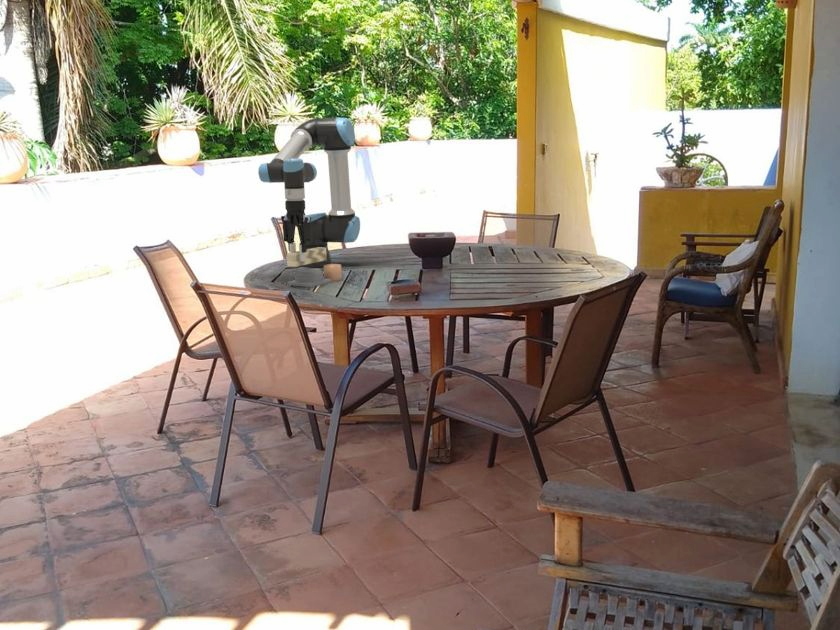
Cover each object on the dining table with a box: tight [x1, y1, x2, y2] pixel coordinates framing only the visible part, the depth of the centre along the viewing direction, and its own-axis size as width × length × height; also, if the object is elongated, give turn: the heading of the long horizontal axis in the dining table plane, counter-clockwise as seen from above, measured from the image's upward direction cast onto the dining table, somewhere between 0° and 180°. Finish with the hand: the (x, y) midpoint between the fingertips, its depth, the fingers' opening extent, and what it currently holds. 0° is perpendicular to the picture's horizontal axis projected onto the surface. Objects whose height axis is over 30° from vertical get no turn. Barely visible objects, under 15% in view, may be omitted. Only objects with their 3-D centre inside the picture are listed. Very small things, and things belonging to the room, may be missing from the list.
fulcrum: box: [287, 266, 332, 288], centre depth 320 cm, size 12×12×6 cm
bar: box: [286, 247, 327, 268], centre depth 318 cm, size 20×4×5 cm, turn 150°
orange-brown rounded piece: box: [323, 263, 343, 282], centre depth 327 cm, size 7×7×6 cm
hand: (298, 260), depth 313 cm, fingers closed on bar, 4 cm apart
